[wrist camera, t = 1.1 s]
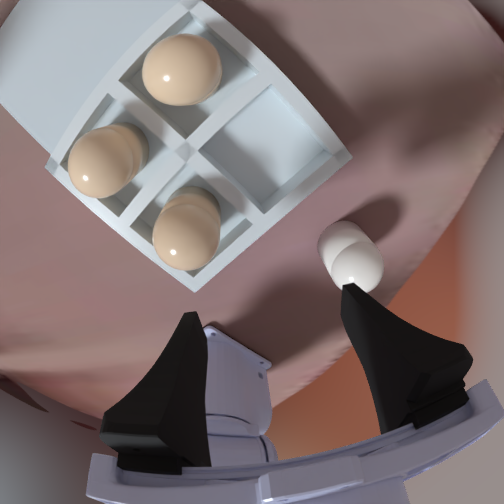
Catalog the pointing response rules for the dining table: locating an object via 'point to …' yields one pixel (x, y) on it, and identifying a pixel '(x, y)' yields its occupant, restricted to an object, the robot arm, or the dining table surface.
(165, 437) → the robot arm
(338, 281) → the white egg
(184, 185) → the egg carton
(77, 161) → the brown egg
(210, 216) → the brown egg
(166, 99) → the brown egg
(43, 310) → the dining table surface
